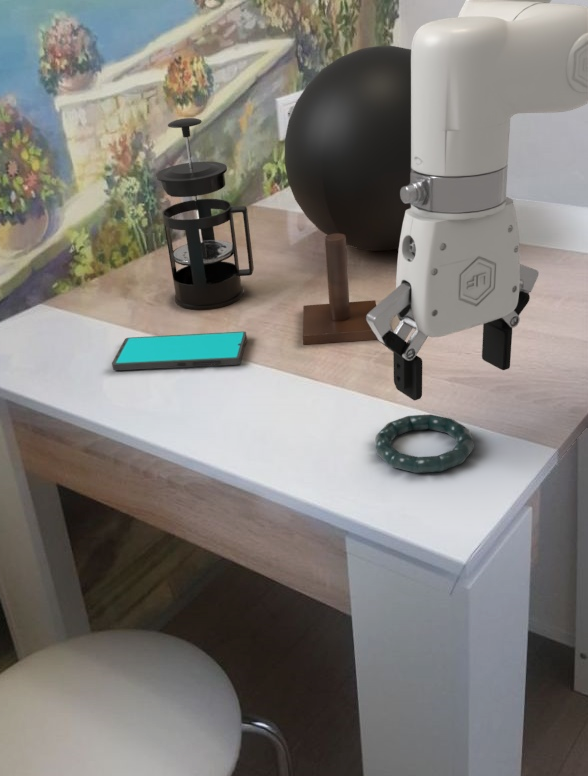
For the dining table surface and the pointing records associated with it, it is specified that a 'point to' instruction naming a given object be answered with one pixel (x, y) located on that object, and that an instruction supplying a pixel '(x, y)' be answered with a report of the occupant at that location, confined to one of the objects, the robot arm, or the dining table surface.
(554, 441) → the dining table surface
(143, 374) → the dining table surface
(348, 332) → the brown peg stand
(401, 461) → the ring
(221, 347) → the smartphone
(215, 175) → the french press
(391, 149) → the ball
